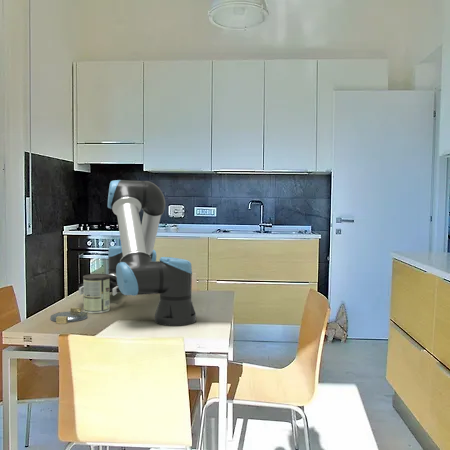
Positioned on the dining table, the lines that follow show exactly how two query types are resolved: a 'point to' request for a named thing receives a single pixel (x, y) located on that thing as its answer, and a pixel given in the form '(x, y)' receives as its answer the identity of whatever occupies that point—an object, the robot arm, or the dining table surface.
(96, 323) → the dining table surface
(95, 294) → the coffee can
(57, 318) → the lock base
